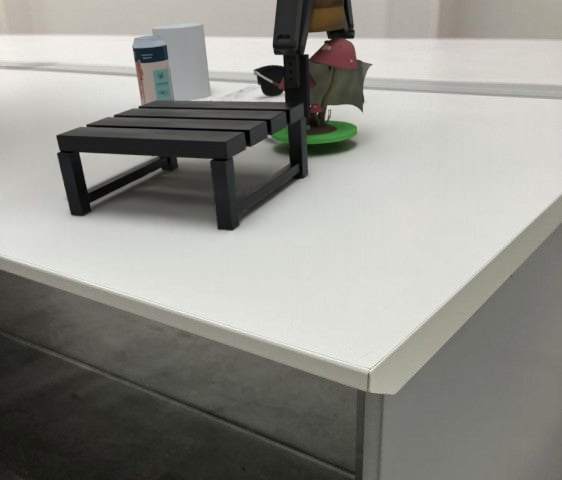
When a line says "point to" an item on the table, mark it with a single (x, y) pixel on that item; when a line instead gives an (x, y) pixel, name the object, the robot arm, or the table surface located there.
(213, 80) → the table surface
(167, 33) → the cup
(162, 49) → the beer can
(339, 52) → the mushroom figurine
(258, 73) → the sunglasses
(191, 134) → the rack
